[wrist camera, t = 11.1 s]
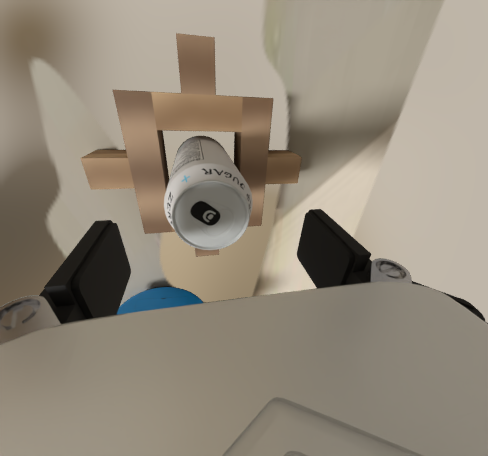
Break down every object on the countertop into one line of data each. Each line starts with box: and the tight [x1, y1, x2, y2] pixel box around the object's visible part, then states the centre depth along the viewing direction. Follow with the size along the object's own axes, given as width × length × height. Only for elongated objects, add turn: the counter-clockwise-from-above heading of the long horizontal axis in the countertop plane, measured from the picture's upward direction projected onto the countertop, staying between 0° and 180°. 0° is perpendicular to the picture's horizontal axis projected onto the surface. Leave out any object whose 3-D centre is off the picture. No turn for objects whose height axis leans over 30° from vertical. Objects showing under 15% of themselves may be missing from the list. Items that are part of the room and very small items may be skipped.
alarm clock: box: [117, 287, 203, 315], centre depth 29 cm, size 13×6×15 cm, turn 79°
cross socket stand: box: [81, 34, 302, 257], centre depth 24 cm, size 22×22×4 cm
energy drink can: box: [164, 136, 253, 250], centre depth 20 cm, size 6×6×15 cm
